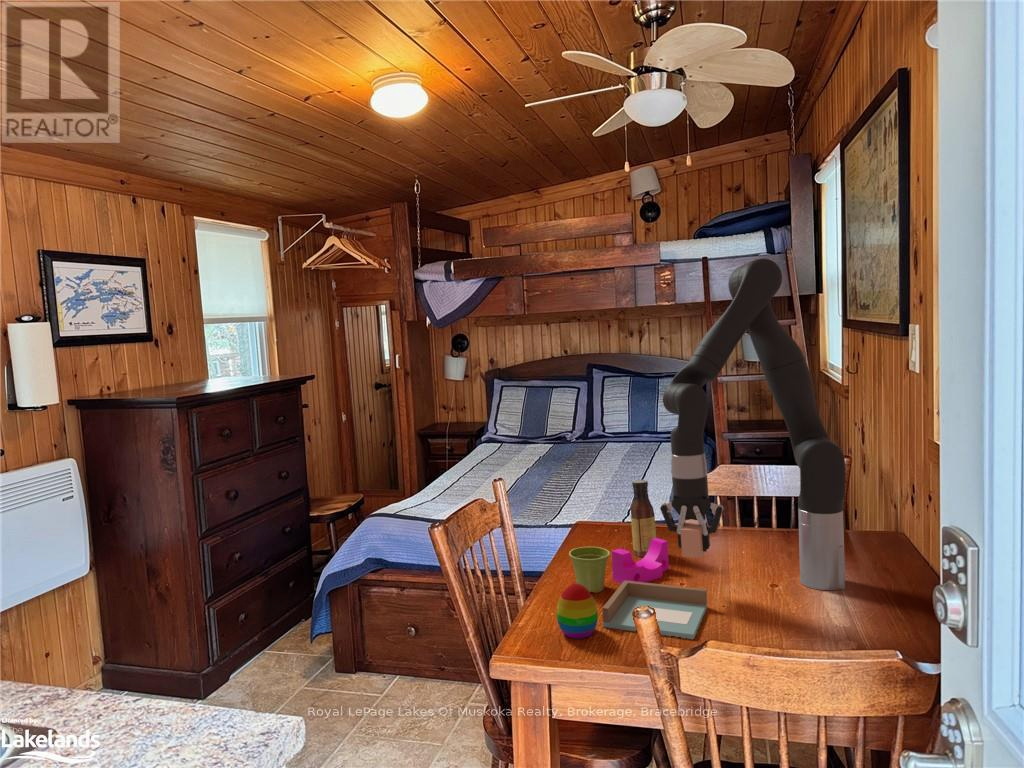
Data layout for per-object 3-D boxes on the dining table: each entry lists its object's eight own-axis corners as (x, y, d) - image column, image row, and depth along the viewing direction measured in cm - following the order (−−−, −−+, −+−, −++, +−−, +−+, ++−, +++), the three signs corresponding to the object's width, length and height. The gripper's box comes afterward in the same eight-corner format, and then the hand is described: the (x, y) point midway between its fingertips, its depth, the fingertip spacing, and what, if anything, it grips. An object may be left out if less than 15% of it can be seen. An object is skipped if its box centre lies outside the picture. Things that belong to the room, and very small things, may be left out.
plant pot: (587, 578, 165) (586, 543, 165) (619, 587, 159) (617, 551, 158) (562, 590, 159) (560, 553, 158) (594, 599, 152) (592, 562, 151)
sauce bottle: (660, 552, 181) (657, 479, 180) (652, 559, 176) (649, 484, 175) (637, 549, 185) (634, 477, 183) (628, 556, 180) (625, 482, 178)
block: (706, 546, 153) (704, 520, 153) (701, 557, 146) (699, 530, 145) (688, 545, 155) (686, 519, 154) (682, 556, 147) (680, 529, 147)
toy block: (631, 588, 158) (629, 557, 157) (613, 581, 163) (611, 550, 163) (676, 573, 166) (675, 543, 166) (657, 566, 171) (656, 537, 171)
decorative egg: (591, 644, 130) (589, 593, 130) (551, 639, 134) (549, 589, 133) (603, 626, 138) (601, 578, 137) (565, 622, 141) (563, 575, 140)
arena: (707, 607, 144) (706, 589, 144) (693, 639, 130) (692, 619, 130) (624, 597, 152) (624, 580, 152) (603, 627, 138) (602, 607, 137)
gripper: (725, 470, 150) (729, 546, 151) (660, 470, 155) (665, 543, 157) (720, 477, 143) (725, 557, 144) (653, 477, 149) (658, 553, 150)
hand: (694, 549), depth 150 cm, fingers closed on block, 4 cm apart
